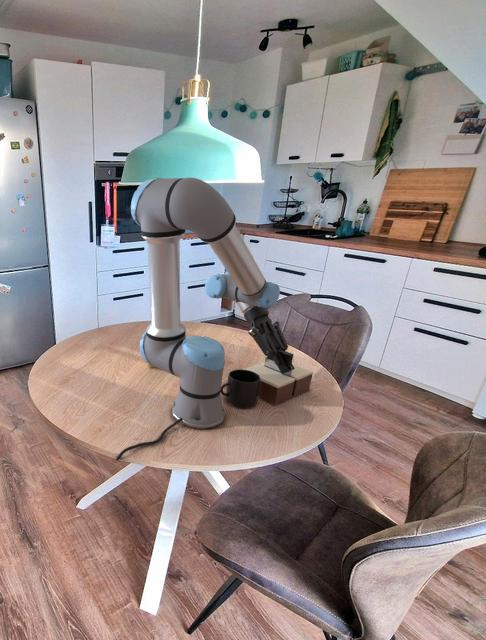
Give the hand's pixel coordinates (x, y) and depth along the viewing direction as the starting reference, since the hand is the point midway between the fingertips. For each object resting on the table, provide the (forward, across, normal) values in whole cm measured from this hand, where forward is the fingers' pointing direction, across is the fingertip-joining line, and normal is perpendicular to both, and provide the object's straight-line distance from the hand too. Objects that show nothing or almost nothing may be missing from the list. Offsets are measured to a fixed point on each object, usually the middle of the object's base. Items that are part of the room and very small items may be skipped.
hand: (288, 371), depth 124 cm
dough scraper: (+2, 0, -7) cm, 7 cm away
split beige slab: (+3, 0, -8) cm, 9 cm away
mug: (+2, +17, -9) cm, 20 cm away
